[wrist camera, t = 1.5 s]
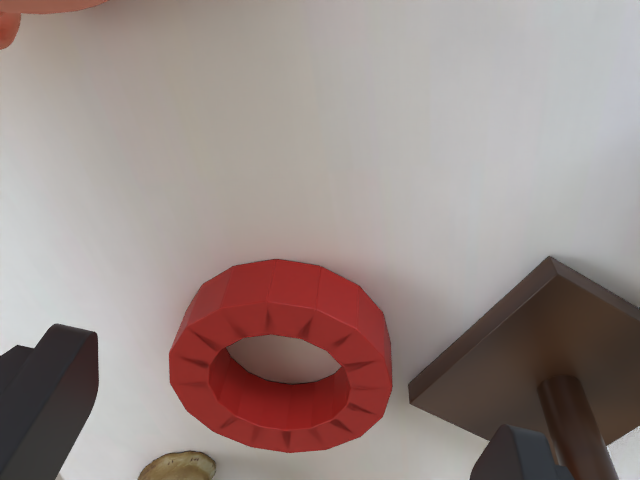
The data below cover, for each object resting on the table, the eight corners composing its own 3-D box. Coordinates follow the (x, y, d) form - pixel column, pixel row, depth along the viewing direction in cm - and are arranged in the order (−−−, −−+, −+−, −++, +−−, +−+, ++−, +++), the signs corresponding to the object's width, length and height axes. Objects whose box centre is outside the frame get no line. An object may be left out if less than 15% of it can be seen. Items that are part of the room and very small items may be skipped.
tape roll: (157, 357, 34) (138, 401, 32) (239, 223, 28) (225, 264, 25) (322, 428, 37) (318, 475, 34) (430, 322, 31) (437, 368, 28)
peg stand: (407, 384, 34) (421, 587, 25) (549, 254, 28) (640, 462, 18) (554, 454, 37) (616, 659, 27) (713, 351, 30) (864, 573, 21)
